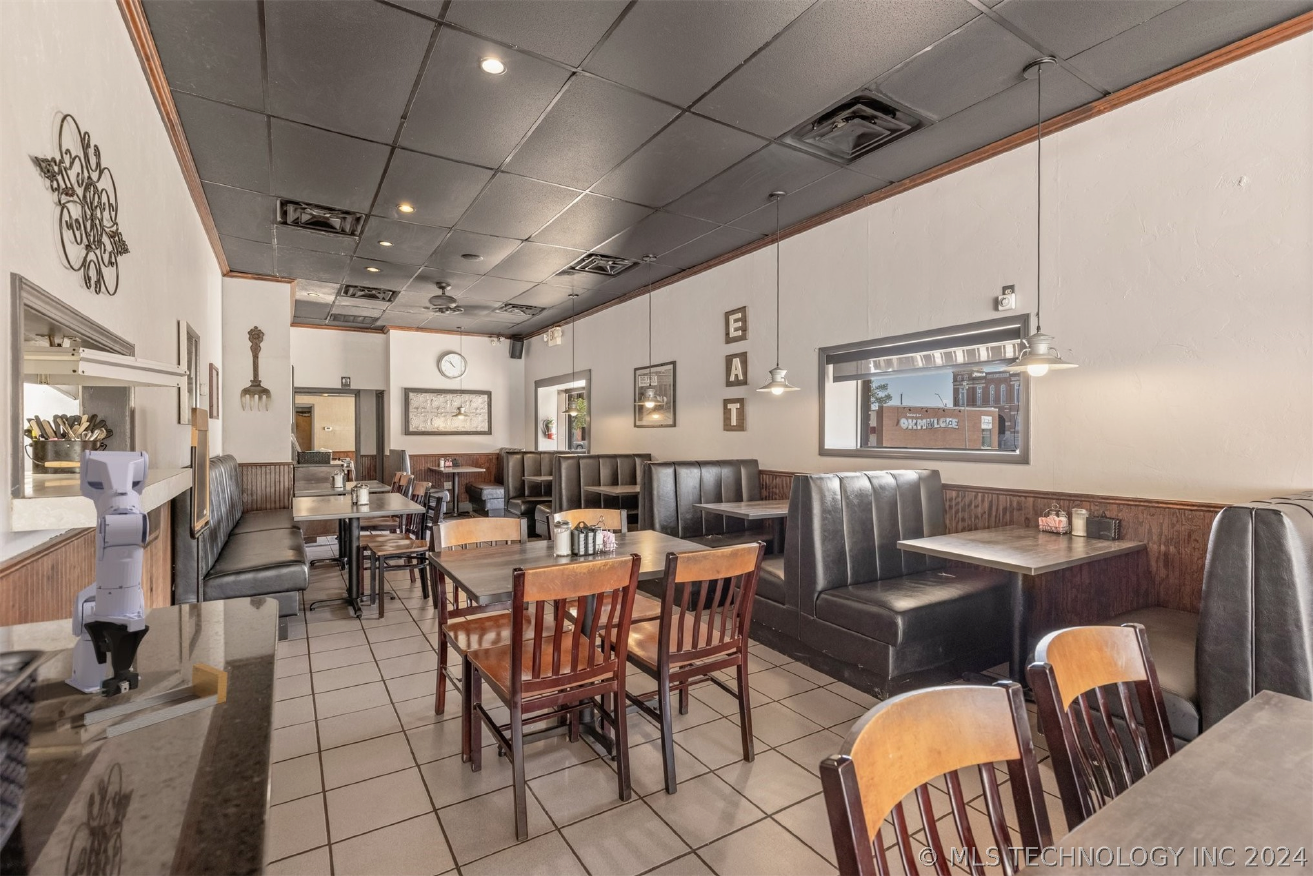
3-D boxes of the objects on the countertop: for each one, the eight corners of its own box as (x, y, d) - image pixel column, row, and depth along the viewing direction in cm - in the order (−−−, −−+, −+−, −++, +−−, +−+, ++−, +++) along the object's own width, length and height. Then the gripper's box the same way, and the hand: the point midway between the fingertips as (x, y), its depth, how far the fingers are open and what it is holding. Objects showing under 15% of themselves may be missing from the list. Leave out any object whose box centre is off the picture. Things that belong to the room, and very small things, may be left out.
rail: (83, 724, 97) (85, 692, 97) (200, 690, 111) (201, 663, 111) (108, 738, 93) (110, 705, 93) (225, 701, 107) (227, 672, 107)
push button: (105, 703, 98) (108, 641, 98) (79, 700, 99) (82, 638, 99) (147, 688, 105) (149, 629, 105) (122, 685, 106) (124, 627, 106)
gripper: (69, 583, 102) (64, 664, 102) (108, 596, 95) (103, 683, 95) (121, 576, 108) (116, 652, 108) (162, 588, 102) (157, 669, 101)
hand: (114, 666), depth 102 cm, fingers closed on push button, 5 cm apart
